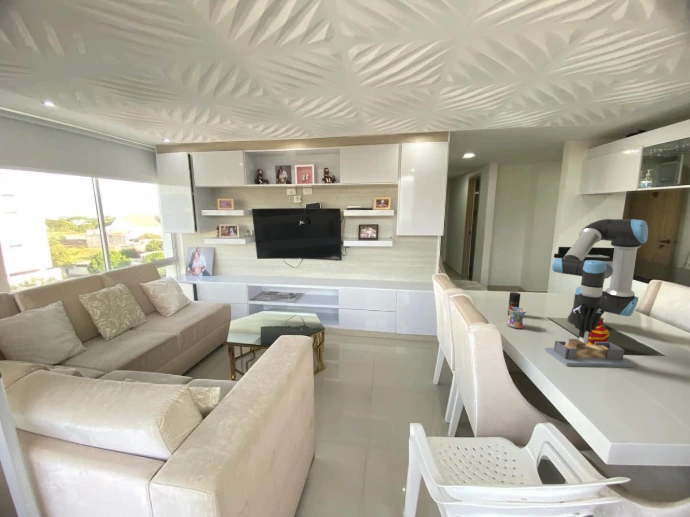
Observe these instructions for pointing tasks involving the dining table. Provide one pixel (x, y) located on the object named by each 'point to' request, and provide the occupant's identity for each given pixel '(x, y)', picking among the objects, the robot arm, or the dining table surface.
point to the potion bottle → (598, 334)
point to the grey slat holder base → (569, 358)
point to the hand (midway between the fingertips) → (582, 343)
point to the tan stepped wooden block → (587, 349)
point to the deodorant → (514, 300)
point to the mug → (516, 317)
